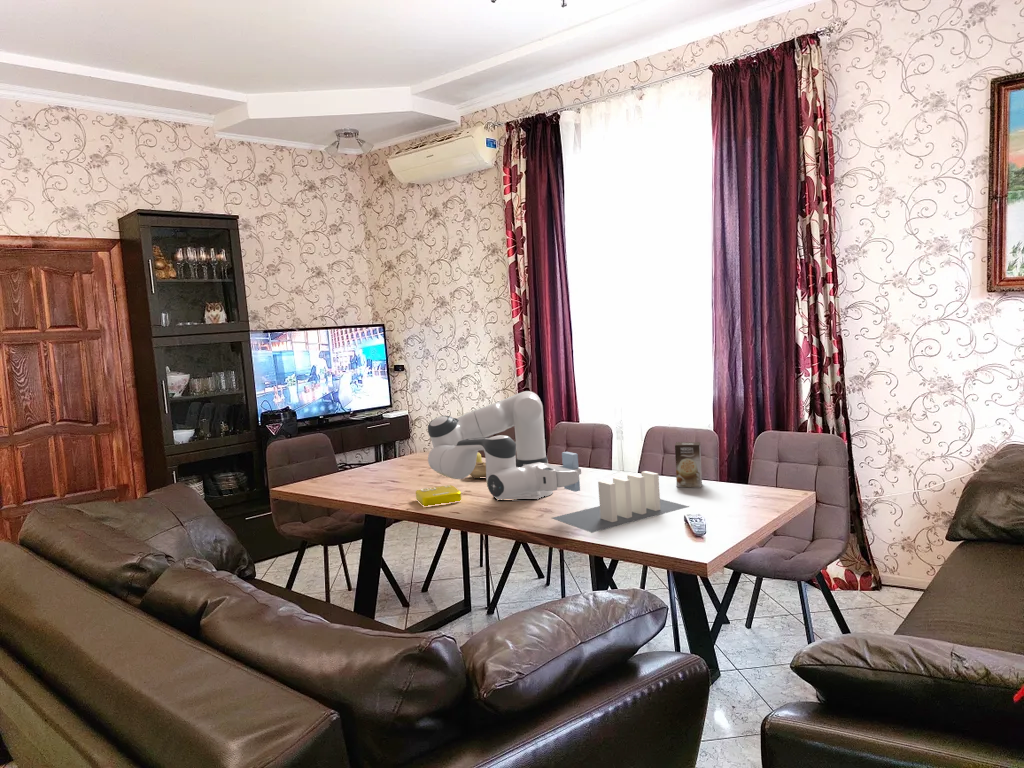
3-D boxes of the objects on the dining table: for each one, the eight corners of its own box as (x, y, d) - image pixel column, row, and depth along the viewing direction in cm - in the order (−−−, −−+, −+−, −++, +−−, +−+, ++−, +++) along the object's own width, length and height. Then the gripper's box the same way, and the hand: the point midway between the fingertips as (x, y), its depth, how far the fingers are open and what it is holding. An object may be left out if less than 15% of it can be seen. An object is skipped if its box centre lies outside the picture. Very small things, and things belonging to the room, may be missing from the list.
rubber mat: (592, 535, 209) (591, 532, 209) (551, 520, 228) (551, 517, 228) (689, 509, 229) (689, 506, 229) (644, 497, 248) (644, 495, 248)
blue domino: (575, 491, 223) (572, 454, 222) (564, 488, 228) (561, 452, 227) (580, 490, 224) (577, 453, 223) (569, 487, 229) (566, 451, 228)
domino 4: (655, 510, 227) (653, 474, 226) (643, 507, 232) (641, 472, 231) (660, 509, 228) (658, 473, 227) (648, 506, 233) (645, 470, 232)
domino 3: (641, 514, 224) (639, 477, 223) (629, 510, 229) (627, 475, 228) (646, 513, 225) (644, 476, 224) (634, 509, 230) (632, 474, 229)
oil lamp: (491, 481, 292) (489, 463, 292) (461, 480, 300) (460, 461, 299) (504, 476, 302) (503, 457, 301) (475, 474, 309) (474, 456, 309)
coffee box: (676, 487, 259) (673, 445, 258) (677, 483, 265) (675, 441, 264) (701, 487, 256) (699, 444, 255) (702, 483, 262) (700, 441, 261)
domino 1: (612, 522, 218) (609, 484, 217) (600, 518, 223) (598, 481, 222) (617, 520, 219) (614, 483, 218) (605, 517, 224) (603, 480, 223)
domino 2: (627, 518, 221) (624, 481, 220) (615, 514, 226) (612, 478, 225) (632, 517, 222) (629, 480, 221) (620, 513, 227) (617, 477, 226)
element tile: (424, 509, 256) (422, 497, 256) (415, 501, 270) (414, 489, 270) (463, 503, 261) (462, 490, 261) (452, 495, 275) (451, 483, 275)
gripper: (520, 481, 228) (555, 474, 235) (556, 492, 211) (592, 483, 218) (519, 462, 228) (554, 455, 235) (554, 471, 210) (591, 463, 217)
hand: (573, 469), depth 226 cm, fingers closed on blue domino, 6 cm apart
